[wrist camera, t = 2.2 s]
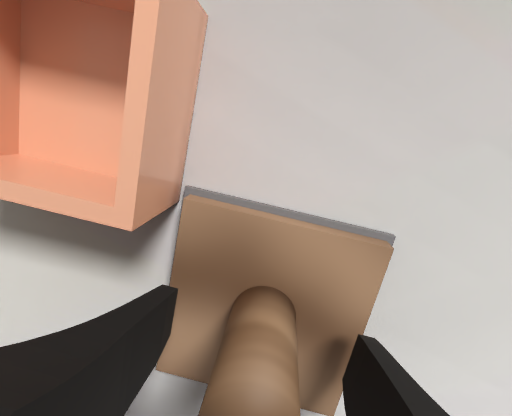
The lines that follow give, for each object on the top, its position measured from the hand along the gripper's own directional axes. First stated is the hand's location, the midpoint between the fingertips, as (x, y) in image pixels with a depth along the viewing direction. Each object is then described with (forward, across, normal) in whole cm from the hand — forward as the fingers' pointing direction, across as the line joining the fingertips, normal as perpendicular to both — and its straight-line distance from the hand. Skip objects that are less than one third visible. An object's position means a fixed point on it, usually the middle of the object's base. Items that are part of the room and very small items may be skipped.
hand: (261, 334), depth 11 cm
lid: (+2, 0, 0) cm, 2 cm away
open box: (+2, +8, -7) cm, 11 cm away
